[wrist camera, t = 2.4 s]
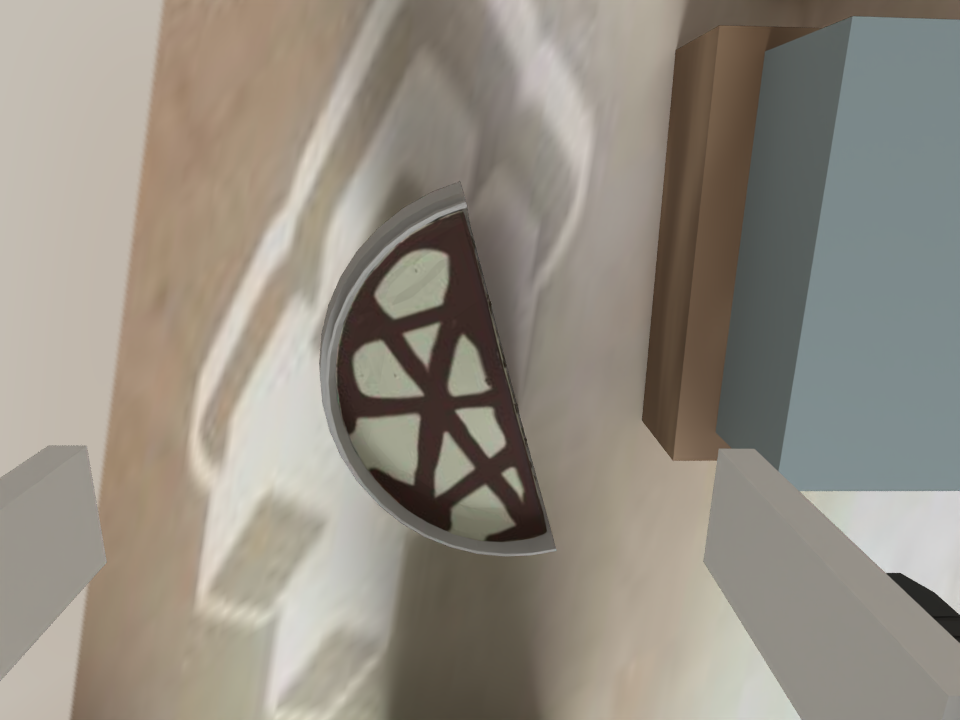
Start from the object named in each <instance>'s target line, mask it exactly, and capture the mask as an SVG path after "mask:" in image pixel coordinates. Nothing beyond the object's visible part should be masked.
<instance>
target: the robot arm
mask: <svg viewBox="0 0 960 720" xmlns="http://www.w3.org/2000/svg"><path fill="white" fill-rule="evenodd" d="M703 562H704V563H705V565H706V567H707V568H708V570H709V571H710V573H711V575H712V576H713V578H714V579H715V581H716V583H717V584H718V586H719V587H720V589H721V591H722V592H723V594H724V595H725V597H726V599H727V600H728V602H729V604H730V605H731V607H732V608H733V610H734V612H735V613H736V615H737V616H738V618H739V620H740V621H741V623H742V624H743V626H744V628H745V629H746V631H747V633H748V634H749V636H750V637H751V639H752V641H753V642H754V644H755V645H756V647H757V649H758V650H759V652H760V653H761V655H762V657H763V658H764V660H765V661H766V663H767V665H768V666H769V668H770V670H771V671H772V673H773V674H774V676H775V678H776V679H777V681H778V682H779V684H780V686H781V687H782V689H783V690H784V692H785V694H786V695H787V697H788V698H789V700H790V702H791V703H792V705H793V707H794V708H795V710H796V711H797V713H798V715H799V716H800V718H801V719H802V720H960V615H959V614H958V613H957V612H956V611H955V610H953V609H952V608H951V607H950V606H949V605H948V604H947V603H946V602H944V601H943V600H942V599H941V598H940V597H939V596H938V595H937V594H935V593H934V592H932V591H931V590H929V589H927V588H925V587H924V586H922V585H920V584H918V583H917V582H915V581H913V580H912V579H910V578H908V577H906V576H905V575H903V574H901V573H885V572H884V571H883V570H882V569H881V568H880V567H879V566H878V565H877V564H875V563H874V562H873V561H872V560H871V559H870V558H869V557H868V556H867V555H866V554H865V553H864V552H863V551H862V550H861V549H860V548H859V547H858V546H856V545H855V544H854V543H853V542H852V541H851V540H850V539H849V538H848V537H847V536H846V535H845V534H844V533H843V532H842V531H841V530H840V529H839V528H837V527H836V526H835V525H834V524H833V523H832V522H831V521H830V520H829V519H828V518H827V517H826V516H825V515H824V514H823V513H822V512H821V511H820V510H818V509H817V508H816V507H815V506H814V505H813V504H812V503H811V502H810V501H809V500H808V499H807V498H806V497H805V496H804V495H803V494H802V493H801V492H799V491H798V490H797V489H796V488H795V487H794V486H793V485H792V484H791V483H790V482H789V481H788V480H787V479H786V478H785V477H784V476H783V475H782V474H781V473H779V472H778V471H777V470H776V469H775V468H774V467H773V466H772V465H771V464H770V463H769V462H768V461H767V460H766V459H765V458H764V457H763V456H762V455H760V454H759V453H758V452H757V451H756V450H755V449H719V451H718V458H717V466H716V473H715V480H714V488H713V495H712V502H711V510H710V517H709V524H708V531H707V539H706V546H705V553H704V561H703ZM106 563H107V561H106V555H105V549H104V544H103V538H102V532H101V526H100V520H99V514H98V508H97V503H96V497H95V491H94V485H93V479H92V474H91V467H90V462H89V456H88V450H87V446H47V447H46V448H44V449H43V450H41V451H40V452H38V453H37V454H36V455H34V456H33V457H31V458H29V459H28V460H26V461H25V462H23V463H22V464H20V465H19V466H17V467H16V468H15V469H13V470H12V471H10V472H9V473H7V474H5V475H4V476H2V477H1V478H0V681H1V679H2V678H3V677H4V676H5V675H6V674H7V673H8V672H9V671H10V669H11V668H12V667H13V666H14V665H15V664H16V663H17V662H18V661H19V660H20V658H21V657H22V656H23V655H24V654H25V653H26V652H27V651H28V650H29V648H30V647H31V646H32V645H33V644H34V643H35V642H36V641H37V640H38V638H39V637H40V636H41V635H42V634H43V633H44V632H45V631H46V630H47V628H48V627H49V626H50V625H51V624H52V623H53V622H54V621H55V619H56V618H57V617H58V616H59V615H60V614H61V613H62V612H63V611H64V610H65V608H66V607H67V606H68V605H69V604H70V603H71V602H72V600H73V599H74V598H75V597H76V596H77V595H78V594H79V593H80V592H81V590H82V589H83V588H84V587H85V586H86V585H87V584H88V583H89V582H90V581H91V579H92V578H93V577H94V576H95V575H96V574H97V573H98V572H99V571H100V569H101V568H102V567H103V566H104V565H105V564H106Z"/></svg>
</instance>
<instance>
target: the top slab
mask: <svg viewBox="0 0 960 720" xmlns="http://www.w3.org/2000/svg"><path fill="white" fill-rule="evenodd" d="M716 433H717V434H718V435H719V436H720V437H721V438H722V439H723V440H724V441H725V442H726V443H727V444H728V445H729V446H730V447H731V448H732V449H755V450H756V451H757V452H758V453H759V454H760V455H762V456H763V457H764V458H765V459H766V460H767V461H768V462H769V463H770V464H771V465H772V466H773V467H774V468H775V469H776V470H777V471H778V472H779V473H781V474H782V475H783V476H784V477H785V478H786V479H787V480H788V481H789V482H790V483H791V484H792V485H793V486H794V487H795V488H796V489H797V490H798V491H960V20H953V19H921V18H890V17H858V16H852V17H850V18H847V19H845V20H842V21H840V22H837V23H835V24H832V25H830V26H827V27H825V28H822V29H820V30H817V31H815V32H812V33H810V34H807V35H805V36H802V37H800V38H797V39H795V40H792V41H790V42H787V43H785V44H782V45H780V46H777V47H775V48H773V49H770V50H768V51H765V56H764V63H763V71H762V79H761V86H760V94H759V102H758V110H757V117H756V125H755V133H754V140H753V148H752V156H751V163H750V171H749V179H748V186H747V194H746V202H745V210H744V217H743V225H742V233H741V240H740V248H739V256H738V263H737V271H736V279H735V286H734V294H733V302H732V309H731V317H730V325H729V333H728V340H727V348H726V356H725V363H724V371H723V379H722V386H721V394H720V402H719V409H718V417H717V425H716Z"/></svg>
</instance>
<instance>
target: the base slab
mask: <svg viewBox="0 0 960 720" xmlns="http://www.w3.org/2000/svg"><path fill="white" fill-rule="evenodd" d="M820 29H822V28H801V27H762V26H724V25H719V26H718V27H716V28H714V29H712V30H711V31H709V32H707V33H705V34H704V35H702V36H700V37H698V38H697V39H695V40H693V41H691V42H689V43H688V44H686V45H684V46H682V47H681V48H679V49H677V50H676V53H675V64H674V75H673V86H672V97H671V108H670V119H669V130H668V141H667V152H666V163H665V174H664V185H663V196H662V207H661V218H660V229H659V240H658V251H657V262H656V273H655V284H654V295H653V306H652V317H651V328H650V339H649V350H648V361H647V372H646V383H645V394H644V405H643V416H642V421H643V422H644V424H645V425H646V426H647V428H648V429H649V430H650V431H651V433H652V434H653V435H654V437H655V438H656V439H657V441H658V442H659V443H660V444H661V446H662V447H663V448H664V450H665V451H666V452H667V453H668V455H669V456H670V457H671V459H672V460H673V461H702V460H717V458H718V451H719V449H732V448H731V447H730V446H729V445H728V444H727V443H726V442H725V441H724V440H723V439H722V438H721V437H720V436H719V435H718V434H717V433H716V425H717V417H718V409H719V402H720V394H721V386H722V379H723V371H724V363H725V356H726V348H727V340H728V333H729V325H730V317H731V309H732V302H733V294H734V286H735V279H736V271H737V263H738V256H739V248H740V240H741V233H742V225H743V217H744V210H745V202H746V194H747V186H748V179H749V171H750V163H751V156H752V148H753V140H754V133H755V125H756V117H757V110H758V102H759V94H760V86H761V79H762V71H763V63H764V56H765V51H768V50H770V49H773V48H775V47H777V46H780V45H782V44H785V43H787V42H790V41H792V40H795V39H797V38H800V37H802V36H805V35H807V34H810V33H812V32H815V31H817V30H820Z"/></svg>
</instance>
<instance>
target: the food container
mask: <svg viewBox="0 0 960 720" xmlns="http://www.w3.org/2000/svg"><path fill="white" fill-rule="evenodd" d="M319 364H320V381H321V392H322V403H323V407H324V411H325V415H326V419H327V422H328V426H329V430H330V433H331V435H332V437H333V440H334V442H335V444H336V446H337V449H338V451H339V453H340V455H341V457H342V459H343V460H344V462H345V463H346V465H347V466H348V468H349V470H350V471H351V473H352V474H353V476H354V477H355V479H356V480H357V481H358V482H359V484H360V485H361V486H362V487H363V488H364V489H365V490H366V491H367V492H368V493H369V495H370V496H371V497H372V498H373V499H374V500H375V501H376V502H377V503H378V504H379V505H380V506H381V507H382V508H383V509H384V510H386V511H387V512H388V513H389V514H390V515H392V516H393V517H394V518H395V519H397V520H398V521H399V522H400V523H402V524H403V525H405V526H407V527H409V528H410V529H412V530H414V531H415V532H417V533H419V534H421V535H422V536H424V537H426V538H429V539H431V540H434V541H436V542H439V543H441V544H444V545H446V546H449V547H451V548H456V549H460V550H464V551H468V552H472V553H476V554H485V555H496V556H525V555H536V554H542V553H547V552H553V551H556V547H555V543H554V540H553V536H552V532H551V529H550V525H549V521H548V518H547V514H546V510H545V507H544V503H543V499H542V496H541V492H540V488H539V485H538V481H537V477H536V474H535V470H534V466H533V462H532V459H531V455H530V451H529V448H528V444H527V439H526V437H525V433H524V429H523V426H522V422H521V418H520V415H519V411H518V407H517V403H516V400H515V396H514V392H513V388H512V384H511V380H510V377H509V373H508V369H507V365H506V361H505V357H504V353H503V350H502V346H501V342H500V338H499V334H498V330H497V327H496V323H495V319H494V315H493V311H492V307H491V301H490V300H489V295H488V292H487V288H486V284H485V280H484V277H483V273H482V269H481V265H480V261H479V257H478V254H477V250H476V246H475V242H474V238H473V234H472V231H471V227H470V223H469V218H468V210H467V204H466V201H465V197H464V193H463V190H462V186H461V183H460V182H457V183H455V184H452V185H449V186H447V187H444V188H441V189H439V190H436V191H433V192H431V193H429V194H427V195H425V196H424V197H422V198H420V199H418V200H417V201H415V202H413V203H411V204H409V205H408V206H406V207H404V208H403V209H401V210H400V211H399V212H397V213H396V214H395V215H394V216H392V217H391V218H390V219H389V220H387V221H386V222H385V223H384V224H382V225H381V226H380V227H379V228H378V229H377V230H376V231H375V232H374V233H373V234H372V235H371V236H370V237H369V239H368V240H367V241H366V242H365V243H364V244H363V245H362V246H361V247H360V249H359V250H358V251H357V252H356V254H355V255H354V257H353V258H352V260H351V261H350V263H349V265H348V266H347V268H346V269H345V271H344V272H343V274H342V276H341V277H340V279H339V282H338V284H337V286H336V289H335V291H334V293H333V296H332V298H331V300H330V303H329V305H328V309H327V313H326V317H325V321H324V326H323V330H322V334H321V348H320V362H319Z"/></svg>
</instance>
